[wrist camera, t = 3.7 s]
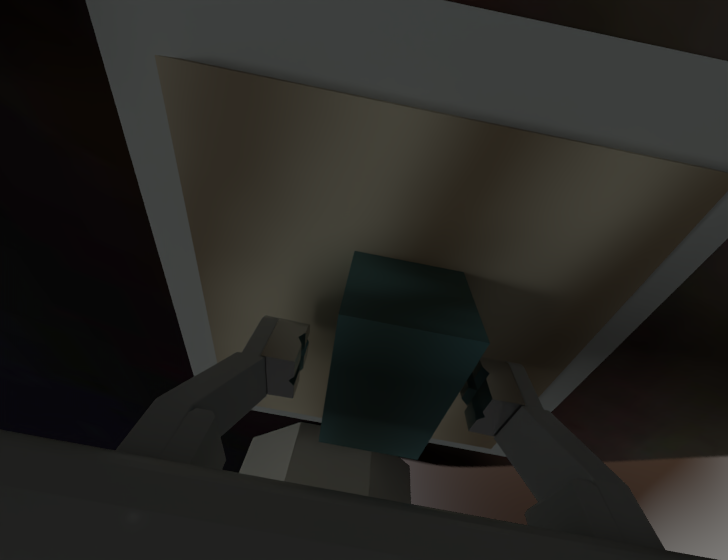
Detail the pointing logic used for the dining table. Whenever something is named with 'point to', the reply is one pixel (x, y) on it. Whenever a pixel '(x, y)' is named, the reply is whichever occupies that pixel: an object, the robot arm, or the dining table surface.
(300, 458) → the bowl
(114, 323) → the dining table surface
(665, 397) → the dining table surface
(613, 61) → the mat
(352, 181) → the board
